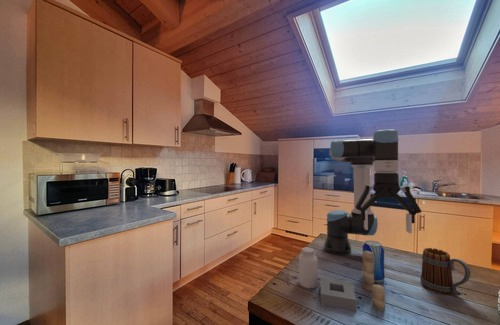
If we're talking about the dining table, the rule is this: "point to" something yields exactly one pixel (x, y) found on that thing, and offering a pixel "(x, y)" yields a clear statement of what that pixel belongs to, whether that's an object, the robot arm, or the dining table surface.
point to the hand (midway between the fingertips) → (386, 230)
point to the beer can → (376, 258)
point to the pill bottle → (308, 268)
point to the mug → (441, 272)
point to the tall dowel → (368, 270)
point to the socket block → (337, 294)
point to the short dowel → (378, 297)
